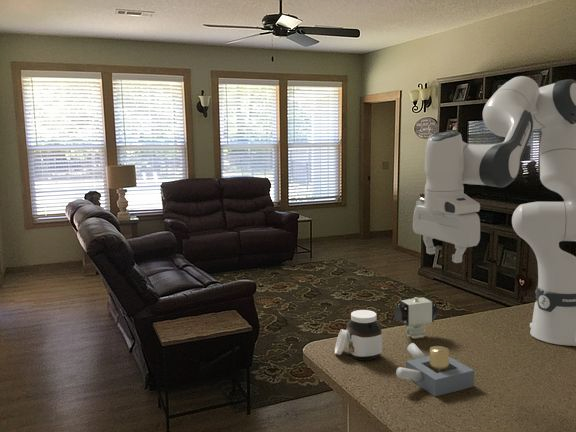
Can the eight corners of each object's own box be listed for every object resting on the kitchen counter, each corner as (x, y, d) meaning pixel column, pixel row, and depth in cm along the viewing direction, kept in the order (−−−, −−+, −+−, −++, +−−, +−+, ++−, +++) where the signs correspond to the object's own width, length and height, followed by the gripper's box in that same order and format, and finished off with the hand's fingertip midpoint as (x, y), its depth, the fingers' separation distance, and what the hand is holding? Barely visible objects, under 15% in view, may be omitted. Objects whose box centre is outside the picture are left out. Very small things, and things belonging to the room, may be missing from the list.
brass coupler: (440, 375, 123) (441, 344, 122) (452, 383, 119) (453, 351, 118) (425, 379, 122) (425, 347, 120) (437, 387, 117) (437, 354, 116)
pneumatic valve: (438, 336, 148) (438, 297, 146) (402, 342, 144) (402, 302, 143) (427, 330, 153) (427, 292, 151) (392, 335, 150) (392, 296, 148)
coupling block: (427, 358, 133) (428, 338, 132) (473, 386, 117) (474, 363, 116) (371, 371, 127) (371, 350, 126) (412, 402, 111) (412, 378, 110)
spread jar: (386, 359, 134) (386, 317, 132) (349, 367, 129) (348, 324, 128) (363, 343, 145) (362, 304, 143) (327, 351, 140) (327, 310, 139)
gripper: (406, 197, 128) (406, 250, 130) (463, 208, 109) (462, 269, 112) (426, 195, 130) (426, 247, 133) (485, 205, 112) (484, 265, 114)
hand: (443, 257), depth 122 cm, fingers open, 8 cm apart
